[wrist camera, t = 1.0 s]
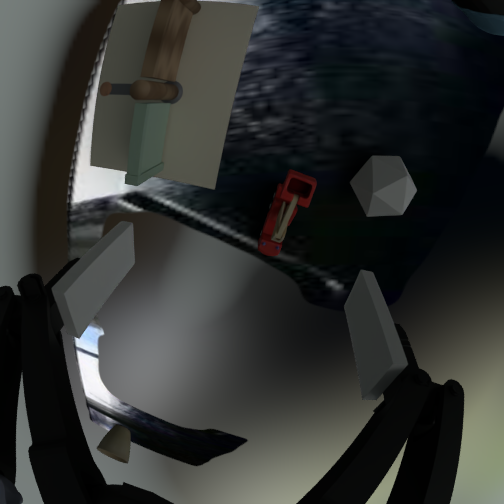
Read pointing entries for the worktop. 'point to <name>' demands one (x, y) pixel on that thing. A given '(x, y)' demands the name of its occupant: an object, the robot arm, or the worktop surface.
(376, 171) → the die
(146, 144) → the green rectangular block
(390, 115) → the worktop surface
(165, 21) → the base
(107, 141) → the card
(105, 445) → the plant pot
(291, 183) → the toy fire truck
